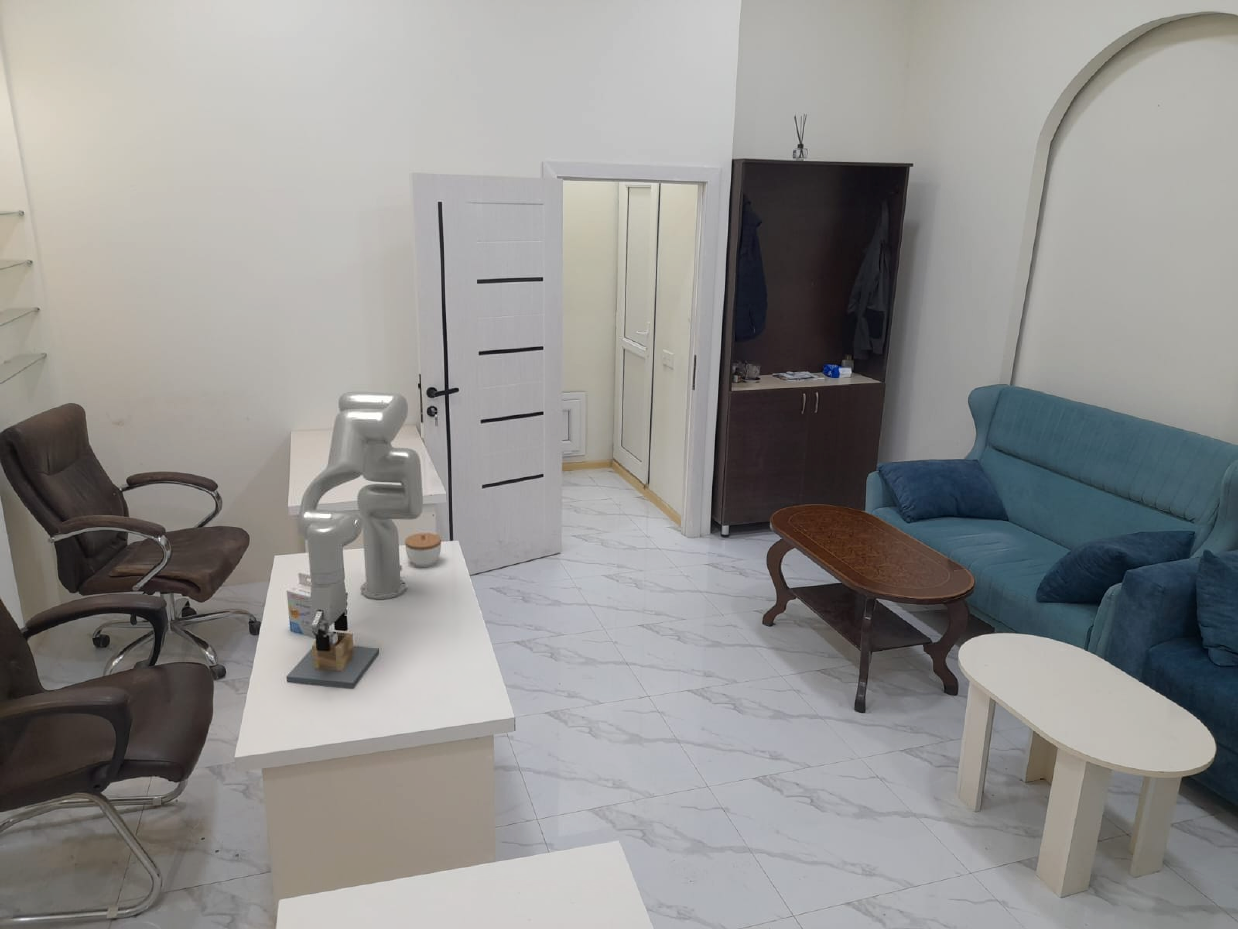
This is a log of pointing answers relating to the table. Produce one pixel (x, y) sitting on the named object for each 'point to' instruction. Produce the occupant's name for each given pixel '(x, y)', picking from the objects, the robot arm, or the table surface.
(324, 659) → the oak frame
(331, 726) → the table surface
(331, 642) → the metal post
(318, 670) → the slate board
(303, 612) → the ink box
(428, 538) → the lidded jar
